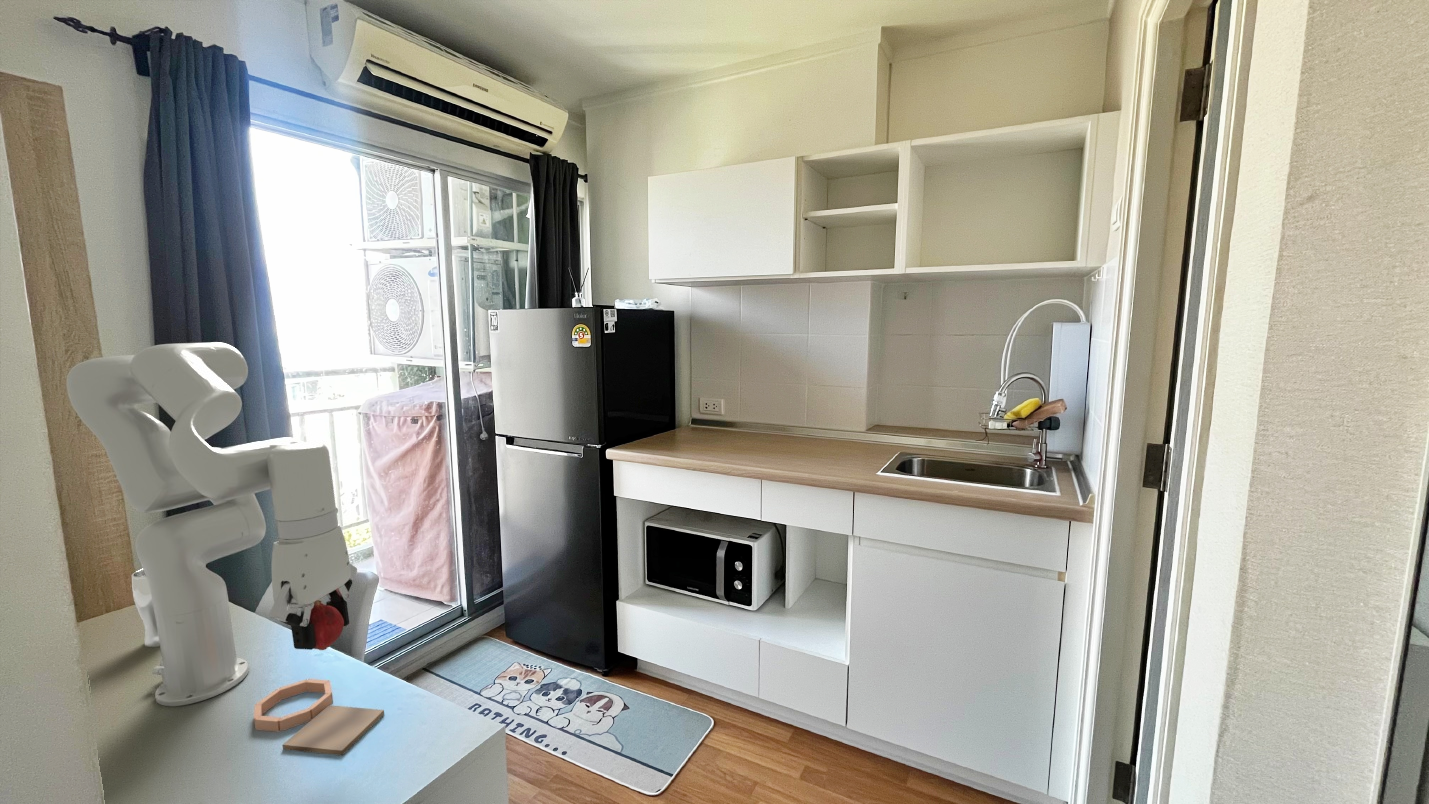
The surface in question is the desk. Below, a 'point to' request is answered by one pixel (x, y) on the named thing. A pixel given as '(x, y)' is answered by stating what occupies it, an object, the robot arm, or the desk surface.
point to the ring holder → (297, 717)
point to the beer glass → (145, 607)
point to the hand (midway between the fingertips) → (322, 635)
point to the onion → (326, 624)
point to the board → (334, 730)
